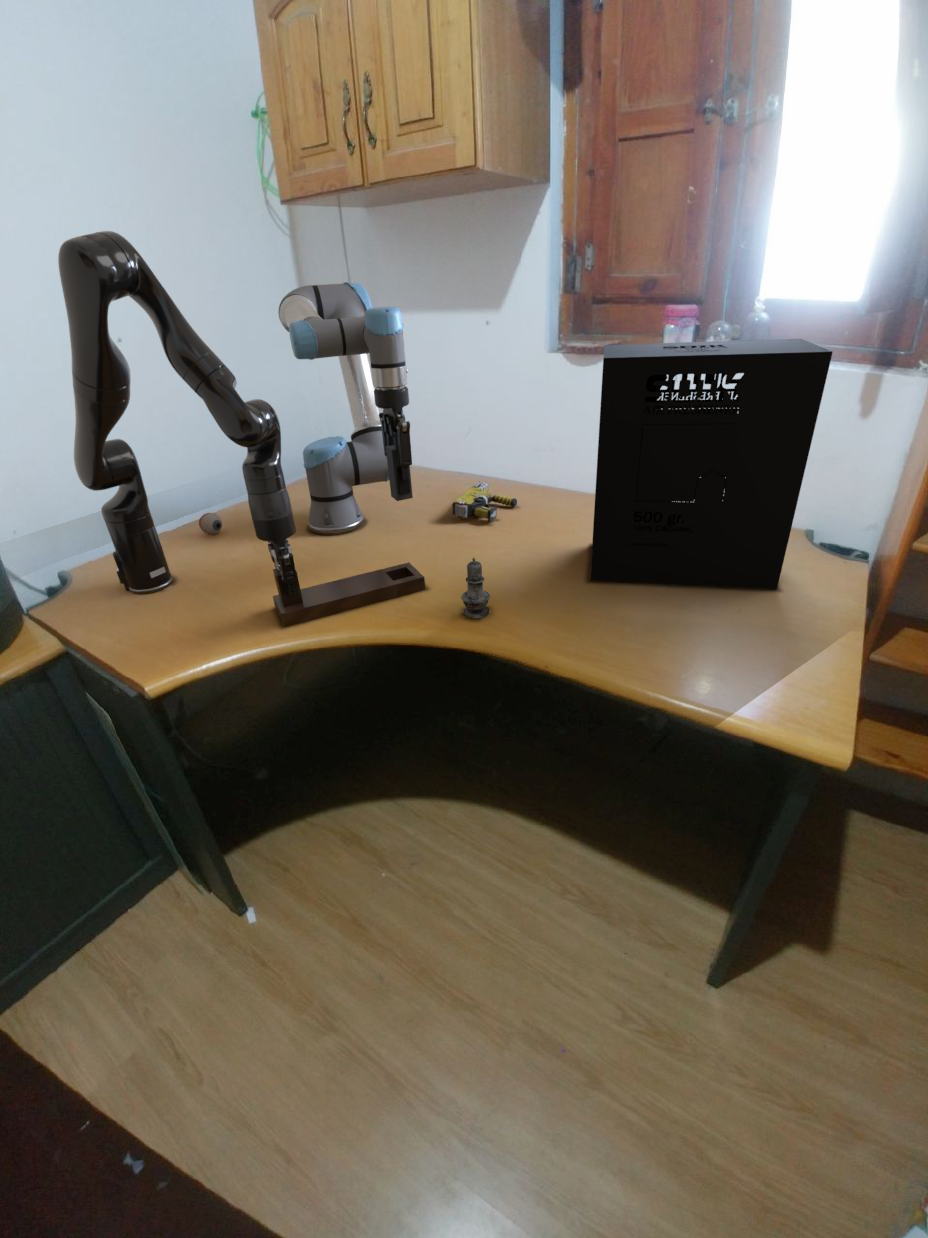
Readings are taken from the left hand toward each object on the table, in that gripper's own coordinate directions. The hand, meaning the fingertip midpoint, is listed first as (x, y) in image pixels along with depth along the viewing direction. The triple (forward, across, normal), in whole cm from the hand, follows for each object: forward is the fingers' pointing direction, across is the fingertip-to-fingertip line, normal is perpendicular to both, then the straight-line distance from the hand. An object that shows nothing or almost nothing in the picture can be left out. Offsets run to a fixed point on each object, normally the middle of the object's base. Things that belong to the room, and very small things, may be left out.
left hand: (289, 590), depth 123 cm
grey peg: (-9, +17, -32) cm, 38 cm away
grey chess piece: (+5, -20, -33) cm, 39 cm away
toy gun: (+5, +33, -64) cm, 72 cm away
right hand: (-10, +17, -32) cm, 38 cm away
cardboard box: (+6, -24, -81) cm, 85 cm away
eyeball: (+5, +58, +9) cm, 59 cm away
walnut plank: (+5, 0, -12) cm, 13 cm away
